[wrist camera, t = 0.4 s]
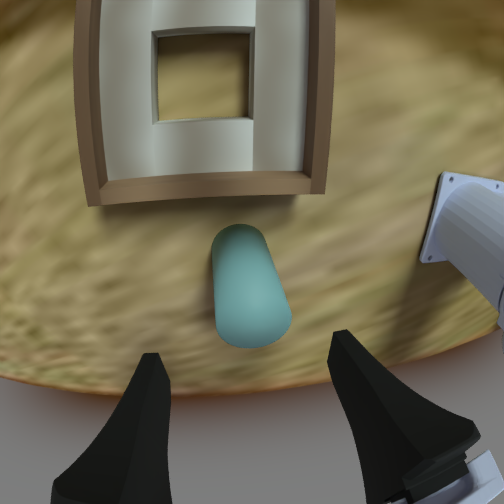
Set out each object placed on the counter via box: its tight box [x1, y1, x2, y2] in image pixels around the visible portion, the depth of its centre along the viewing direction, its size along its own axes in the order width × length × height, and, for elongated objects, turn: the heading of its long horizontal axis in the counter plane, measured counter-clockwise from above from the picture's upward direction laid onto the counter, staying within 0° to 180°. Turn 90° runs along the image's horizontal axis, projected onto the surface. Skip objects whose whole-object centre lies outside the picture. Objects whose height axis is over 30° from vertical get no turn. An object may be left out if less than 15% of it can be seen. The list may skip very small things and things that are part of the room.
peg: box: [212, 224, 292, 348], centre depth 17 cm, size 4×4×7 cm
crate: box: [73, 0, 335, 207], centre depth 12 cm, size 12×14×4 cm
